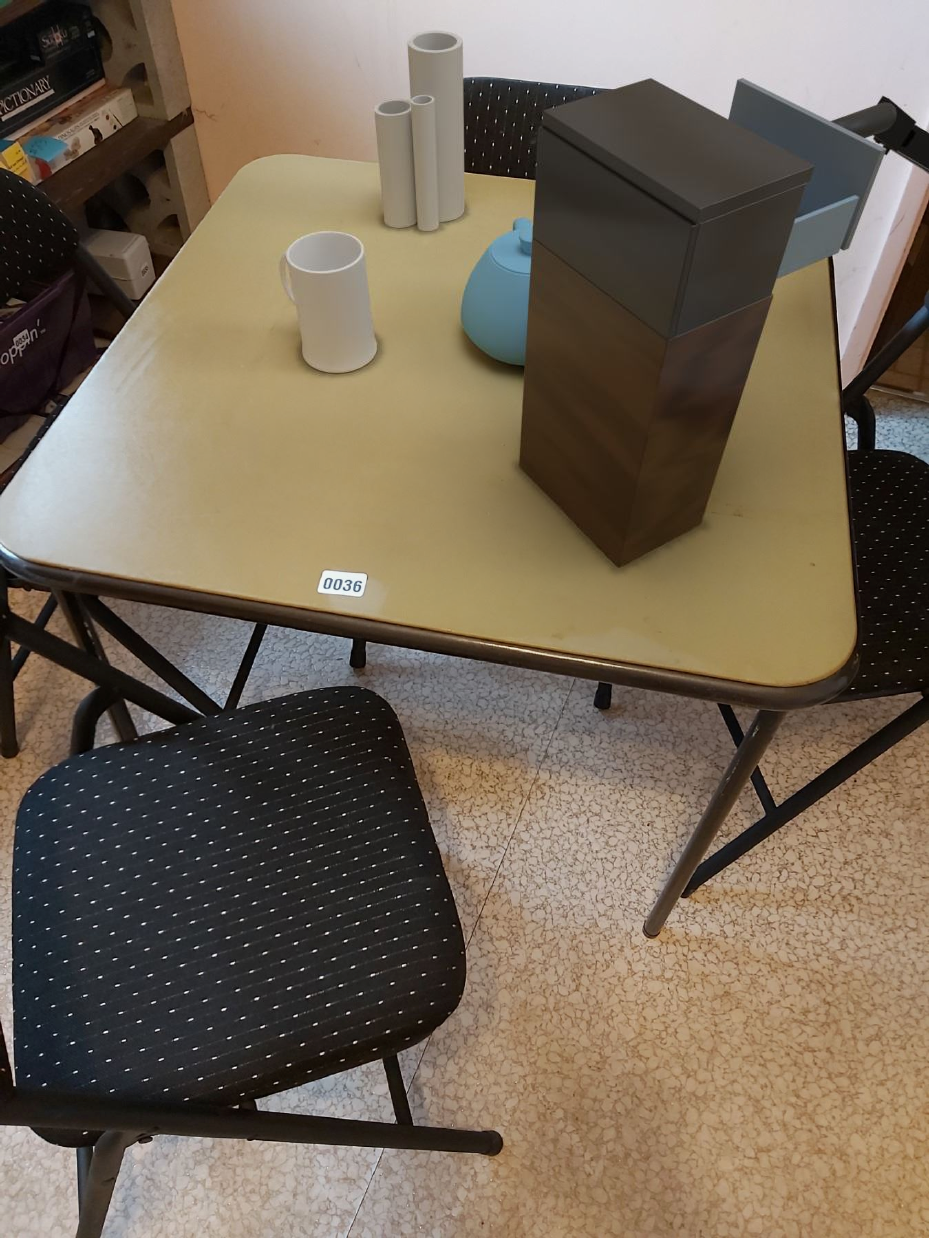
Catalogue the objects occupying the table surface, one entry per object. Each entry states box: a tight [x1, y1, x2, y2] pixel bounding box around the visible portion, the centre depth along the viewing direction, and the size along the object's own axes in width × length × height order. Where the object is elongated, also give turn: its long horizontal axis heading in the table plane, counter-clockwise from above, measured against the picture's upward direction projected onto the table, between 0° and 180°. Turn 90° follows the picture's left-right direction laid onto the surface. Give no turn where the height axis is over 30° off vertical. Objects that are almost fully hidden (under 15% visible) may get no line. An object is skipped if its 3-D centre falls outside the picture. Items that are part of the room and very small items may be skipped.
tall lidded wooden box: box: [518, 77, 815, 568], centre depth 69 cm, size 10×16×33 cm, turn 32°
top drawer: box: [727, 77, 897, 280], centre depth 64 cm, size 20×14×7 cm
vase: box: [373, 30, 466, 232], centre depth 105 cm, size 11×7×20 cm, turn 126°
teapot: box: [460, 217, 533, 366], centre depth 92 cm, size 20×20×13 cm
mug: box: [278, 230, 378, 374], centre depth 92 cm, size 12×8×12 cm
